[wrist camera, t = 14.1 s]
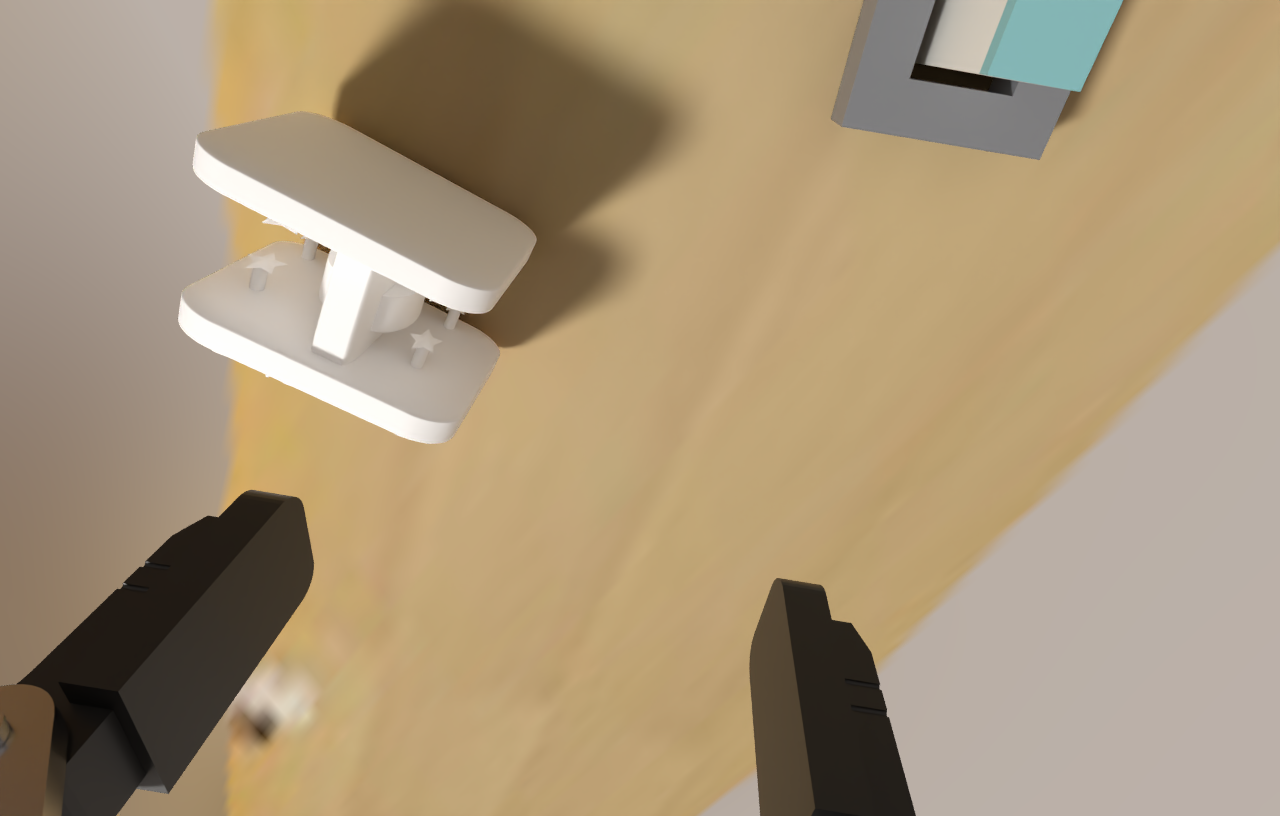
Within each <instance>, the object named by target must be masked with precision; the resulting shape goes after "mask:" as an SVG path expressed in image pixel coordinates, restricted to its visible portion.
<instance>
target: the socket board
mask: <svg viewBox="0 0 1280 816" xmlns="http://www.w3.org/2000/svg"><path fill="white" fill-rule="evenodd" d="M934 3H935V0H864V2H863V5H862V9H861V12H860V16H859V19H858V23H857V27H856V30H855V34H854V37H853V41H852V45H851V48H850V52H849V55H848V59H847V63H846V66H845V70H844V73H843V77H842V81H841V84H840V88H839V91H838V95H837V99H836V102H835V106H834V109H833V113H832V116H831V119H832V120H833V121H834V122H836V123H837V124H839V125H840V126H841V127H847V128H853V129H859V130H865V131H871V132H876V133H882V134H888V135H894V136H900V137H906V138H912V139H918V140H924V141H930V142H936V143H942V144H948V145H954V146H960V147H966V148H972V149H978V150H984V151H990V152H996V153H1002V154H1008V155H1013V156H1019V157H1025V158H1031V159H1037V160H1040V158H1041V155H1042V153H1043V151H1044V149H1045V147H1046V144H1047V142H1048V140H1049V138H1050V136H1051V133H1052V131H1053V129H1054V127H1055V125H1056V122H1057V120H1058V118H1059V116H1060V114H1061V111H1062V109H1063V107H1064V105H1065V103H1066V100H1067V98H1068V96H1069V94H1070V92H1071V90H1066V89H1060V88H1054V87H1048V86H1043V85H1037V84H1031V83H1025V82H1019V81H1014V80H1008V79H1002V78H996V77H993V80H992V82H991V85H990V88H989V90H988V91H987V90H981V89H975V88H969V87H963V86H957V85H951V84H945V83H939V82H934V81H928V80H922V79H916V78H910V76H911V73H912V70H913V67H914V64H915V61H916V58H917V54H918V51H919V48H920V45H921V42H922V39H923V36H924V33H925V30H926V27H927V24H928V21H929V18H930V15H931V12H932V9H933V6H934Z"/></svg>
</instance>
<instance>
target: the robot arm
mask: <svg viewBox="0 0 1280 816" xmlns="http://www.w3.org/2000/svg"><path fill="white" fill-rule="evenodd" d="M313 570H314V561H313V555H312V549H311V544H310V539H309V533H308V528H307V522H306V517H305V512H304V507H303V503H302V501H301V500H300V499H299V498H297V497H292V496H286V495H280V494H274V493H268V492H262V491H256V490H249V491H246V492H244V493H243V494H241V495H240V496H239V497H238V498H237V499H236V500H235V501H234V502H233V503H232V504H231V505H230V506H229V507H228V508H227V509H226V510H225V511H224V512H223V513H222V514H221V515H220V516H219V517H212V516H206V517H204V518H203V519H201V520H199V521H197V522H196V523H194V524H192V525H190V526H188V527H187V528H185V529H183V530H181V531H180V532H178V533H176V534H174V535H172V536H171V537H170V538H169V539H168V540H167V541H166V542H165V543H164V544H163V545H162V546H161V547H160V548H159V549H158V550H157V551H156V552H155V553H154V554H153V555H152V556H151V557H149V558H148V559H147V560H146V561H145V566H144V567H139V568H138V569H137V570H136V571H135V572H134V573H133V574H132V575H131V576H130V577H129V578H128V579H127V580H126V581H125V582H124V583H123V587H122V588H121V589H116V590H115V591H114V592H113V593H112V594H111V595H110V596H109V597H108V598H107V599H106V600H105V601H104V602H103V603H102V604H101V605H100V606H99V607H98V608H97V609H96V610H95V611H94V612H92V613H91V614H90V616H89V617H88V618H86V619H85V620H84V621H83V622H82V623H81V624H80V625H79V626H78V627H77V628H76V629H75V630H74V631H73V632H72V633H71V634H70V635H69V636H68V637H67V638H66V639H65V640H64V641H62V643H60V645H58V646H57V647H56V648H55V649H54V650H53V651H52V652H51V653H50V654H49V655H48V656H47V657H46V658H45V659H44V660H43V661H42V662H41V663H40V664H39V665H38V666H37V667H36V668H35V669H33V671H31V672H30V673H29V674H28V675H27V676H26V677H25V678H23V679H22V680H21V681H20V682H19V683H17V684H12V685H4V686H0V816H120V815H119V811H120V810H121V808H122V807H123V806H124V804H125V803H126V802H127V800H128V799H129V798H130V796H131V795H132V794H133V792H134V791H135V790H136V789H142V790H148V791H154V792H160V793H167V794H169V792H170V791H171V789H172V788H173V786H174V785H175V783H176V782H177V780H178V779H179V778H180V776H181V775H182V773H183V772H184V771H185V769H186V767H187V766H188V765H189V763H190V762H191V760H192V759H193V758H194V756H195V755H196V753H197V752H198V750H199V749H200V747H201V746H202V744H203V743H204V742H205V740H206V738H207V737H208V736H209V734H210V733H211V732H212V730H213V728H214V727H215V726H216V724H217V723H218V721H219V720H220V719H221V717H222V716H223V714H224V713H225V711H226V710H227V708H228V707H229V706H230V704H231V703H232V701H233V700H234V698H235V697H236V695H237V694H238V693H239V691H240V690H241V688H242V687H243V685H244V684H245V683H246V681H247V680H248V678H249V677H250V675H251V674H252V672H253V671H254V670H255V668H256V667H257V665H258V664H259V662H260V661H261V659H262V658H263V657H264V655H265V654H266V652H267V651H268V649H269V648H270V646H271V645H272V644H273V642H274V641H275V639H276V638H277V636H278V635H279V633H280V632H281V631H282V629H283V628H284V626H285V625H286V623H287V622H288V620H289V619H290V618H291V616H292V615H293V613H294V612H295V610H296V609H297V607H298V606H299V605H300V603H301V602H302V600H303V599H304V597H305V595H306V593H307V591H308V589H309V586H310V583H311V580H312V576H313ZM879 685H880V683H879V679H878V675H877V672H876V668H875V664H874V661H873V657H872V653H871V651H870V650H869V648H868V647H867V645H866V644H865V643H864V641H863V640H862V638H861V637H860V635H859V634H858V632H857V631H856V629H855V628H854V626H853V625H852V624H851V623H847V622H841V621H835V620H832V619H831V615H830V610H829V606H828V601H827V596H826V593H825V590H824V588H823V587H822V586H821V585H817V584H811V583H805V582H799V581H793V580H787V579H780V578H777V579H775V580H774V582H773V584H772V587H771V590H770V592H769V595H768V598H767V601H766V603H765V606H764V609H763V612H762V614H761V617H760V620H759V623H758V625H757V628H756V631H755V633H754V637H753V641H752V645H751V652H750V686H751V699H752V712H753V725H754V739H755V752H756V765H757V778H758V791H759V804H760V816H916V815H915V811H914V807H913V804H912V800H911V797H910V793H909V789H908V786H907V782H906V778H905V774H904V771H903V767H902V763H901V760H900V756H899V753H898V749H897V745H896V741H895V738H894V734H893V730H892V727H891V723H890V719H889V717H887V714H886V713H887V708H886V705H885V701H884V698H883V694H882V691H881V690H880V689H879Z"/></svg>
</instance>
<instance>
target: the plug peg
mask: <svg viewBox="0 0 1280 816" xmlns="http://www.w3.org/2000/svg"><path fill="white" fill-rule="evenodd" d="M1122 2H1123V0H935V3H934V6H933V9H932V12H931V15H930V18H929V21H928V24H927V27H926V30H925V33H924V36H923V39H922V42H921V45H920V48H919V51H918V54H917V58H916V61H915V63H918V64H923V65H929V66H934V67H940V68H946V69H951V70H957V71H962V72H968V73H973V74H979V75H985V76H990V77H996V78H1002V79H1008V80H1014V81H1019V82H1025V83H1031V84H1037V85H1043V86H1048V87H1054V88H1060V89H1066V90H1071V91H1077V92H1080V91H1081V89H1082V87H1083V85H1084V83H1085V81H1086V78H1087V76H1088V74H1089V72H1090V70H1091V68H1092V66H1093V64H1094V61H1095V59H1096V57H1097V55H1098V53H1099V51H1100V49H1101V47H1102V44H1103V42H1104V40H1105V38H1106V36H1107V34H1108V32H1109V30H1110V27H1111V25H1112V23H1113V21H1114V19H1115V17H1116V15H1117V13H1118V10H1119V8H1120V6H1121V4H1122Z"/></svg>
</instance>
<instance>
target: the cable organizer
mask: <svg viewBox="0 0 1280 816" xmlns="http://www.w3.org/2000/svg"><path fill="white" fill-rule="evenodd" d="M193 170H194V172H195V173H196V175H197V176H198V177H199V178H200V179H201V180H202V181H203V182H204V183H206V184H207V185H208V186H210V187H211V188H213V189H214V190H216V191H217V192H219V193H221V194H223V195H225V196H226V197H228V198H230V199H232V200H234V201H236V202H238V203H240V204H242V205H244V206H246V207H248V208H250V209H252V210H254V211H256V212H258V213H260V214H262V215H264V216H266V217H268V218H267V219H266V220H264V221H263V222H262V223H268V224H275V225H282V226H284V227H285V228H287V229H288V230H290V231H292V232H293V233H295V234H297V232H298V233H300V234H302V235H304V236H303V237H301V238H300V239H305V243H304V244H301V243H297V242H291V241H277V242H274V243H271V244H269V245H267V246H265V247H263V248H261V249H259V250H258V251H256V252H254V253H252V254H248V256H246V257H244V258H242V259H240V260H238V261H236V262H234V263H232V264H230V265H228V266H226V267H224V268H222V269H220V270H218V271H216V272H214V273H212V274H210V275H208V276H206V277H204V278H202V279H201V280H199V281H197V282H195V283H193V284H191V285H189V286H187V287H186V288H184V290H183V291H182V295H181V302H180V310H179V316H178V321H179V324H180V326H181V328H182V329H183V331H184V332H185V333H186V334H187V335H188V336H189V337H191V338H192V339H193V340H195V341H196V342H198V343H199V344H201V345H203V346H205V347H207V348H209V349H211V350H212V351H214V352H216V353H219V354H221V355H223V356H227V357H229V358H231V359H233V360H235V361H238V362H240V363H242V364H244V365H246V366H248V367H251V368H253V369H255V370H257V371H259V372H262V373H264V374H266V377H269V376H270V377H272V378H275V379H277V380H279V381H281V382H283V383H284V384H286V385H289V386H292V387H294V388H297V389H299V390H301V391H303V392H305V393H307V394H310V395H312V396H314V397H316V398H318V399H321V400H323V401H325V402H327V403H329V404H331V405H334V406H336V407H338V408H340V409H342V410H345V411H347V412H349V413H351V414H353V415H355V416H358V417H360V418H362V419H364V420H366V421H369V422H371V423H373V424H375V425H377V426H380V427H382V428H384V429H386V430H388V431H390V432H393V433H395V434H396V435H398V436H400V437H404V438H407V439H410V440H413V441H417V442H422V443H427V444H430V443H431V444H434V443H443V442H446V441H448V440H450V439H451V438H452V437H453V436H454V435H455V433H456V431H457V430H458V428H459V426H460V425H461V423H462V421H463V420H464V418H465V416H466V415H467V413H468V411H469V410H470V408H471V406H472V405H473V403H474V401H475V400H476V398H477V396H478V395H479V393H480V391H481V390H482V388H483V387H484V385H485V383H486V382H487V380H488V378H489V377H490V375H491V373H492V371H493V369H494V367H495V364H496V362H497V360H498V358H499V356H500V350H499V348H498V346H497V345H496V343H495V342H494V341H493V340H492V339H491V338H490V337H488V336H487V335H486V334H485V333H483V332H482V331H480V330H478V329H477V328H475V327H473V326H471V325H469V324H467V323H465V322H463V321H461V320H459V319H458V318H459V316H460V313H462V314H463V315H464V312H467V313H474V314H482V313H486V312H489V311H490V310H492V309H493V307H494V306H495V304H496V303H497V302H498V300H499V299H500V298H501V296H502V295H503V294H504V292H505V291H506V290H507V288H508V287H509V285H510V284H511V283H512V281H513V280H514V279H515V277H516V276H517V275H518V273H519V272H520V270H521V269H522V268H523V266H524V265H525V264H526V262H527V261H528V259H529V257H530V255H531V252H532V250H533V248H534V246H535V244H536V241H537V238H536V236H535V234H534V233H533V231H532V230H531V229H530V228H529V227H528V226H527V225H525V224H524V223H523V222H522V221H520V220H519V219H517V218H516V217H514V216H513V215H511V214H509V213H507V212H506V211H504V210H502V209H500V208H498V207H496V206H495V205H493V204H491V203H489V202H487V201H485V200H484V199H482V198H480V197H478V196H476V195H474V194H473V193H471V192H469V191H467V190H465V189H463V188H462V187H460V186H458V185H456V184H454V183H452V182H451V181H449V180H447V179H445V178H443V177H441V176H440V175H438V174H436V173H434V172H432V171H430V170H429V169H427V168H425V167H423V166H421V165H419V164H418V163H416V162H414V161H412V160H410V159H408V158H407V157H405V156H403V155H401V154H399V153H397V152H396V151H394V150H392V149H390V148H388V147H386V146H385V145H383V144H381V143H379V142H377V141H375V140H374V139H372V138H370V137H368V136H366V135H364V134H363V133H361V132H359V131H357V130H355V129H353V128H352V127H350V126H348V125H346V124H343V123H341V122H339V121H337V120H334V119H331V118H329V117H326V116H323V115H320V114H316V113H311V112H303V111H300V112H294V113H289V114H284V115H280V116H275V117H270V118H266V119H261V120H256V121H252V122H247V123H242V124H238V125H233V126H228V127H223V128H219V129H214V130H209V131H205V132H202V133H200V134H199V135H197V137H196V143H195V151H194V158H193ZM318 243H320V244H321V245H323V246H325V247H327V248H329V249H331V250H330V252H329V254H328V253H326V252H324V251H322V250H319V249H317V247H318ZM425 297H426V298H428V299H430V300H429V301H434V302H436V303H439V304H441V305H443V306H446V307H447V309H446V310H449V312H448V314H447V313H445V312H443V311H441V310H439V309H437V308H435V307H433V306H431V305H429V304H427V303H425V302H424V300H425Z"/></svg>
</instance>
